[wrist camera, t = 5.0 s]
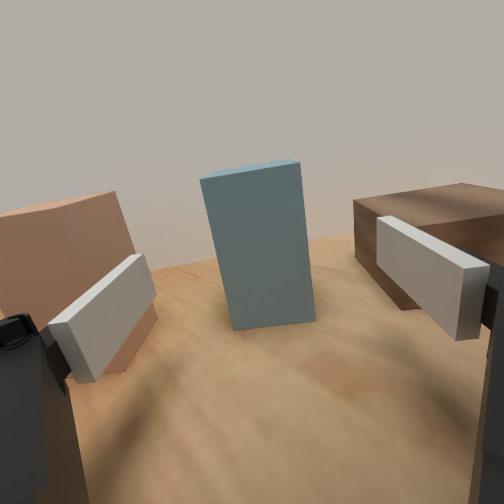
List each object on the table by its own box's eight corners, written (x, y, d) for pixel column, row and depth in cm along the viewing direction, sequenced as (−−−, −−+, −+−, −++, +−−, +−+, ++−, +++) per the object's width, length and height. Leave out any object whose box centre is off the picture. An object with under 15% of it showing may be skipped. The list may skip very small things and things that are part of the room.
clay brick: (157, 318, 23) (114, 190, 20) (125, 371, 18) (56, 207, 14) (92, 326, 24) (38, 203, 20) (41, 380, 18) (-48, 225, 14)
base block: (455, 242, 27) (462, 183, 25) (556, 291, 18) (579, 202, 16) (355, 256, 28) (353, 199, 26) (401, 309, 19) (404, 228, 17)
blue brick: (303, 282, 25) (289, 158, 21) (315, 321, 19) (300, 162, 16) (239, 290, 26) (215, 171, 22) (233, 330, 20) (199, 179, 16)
